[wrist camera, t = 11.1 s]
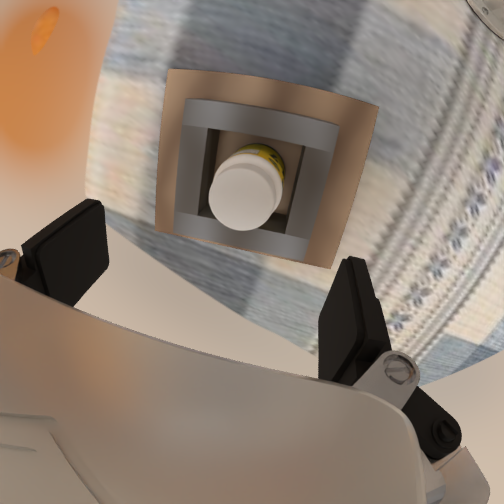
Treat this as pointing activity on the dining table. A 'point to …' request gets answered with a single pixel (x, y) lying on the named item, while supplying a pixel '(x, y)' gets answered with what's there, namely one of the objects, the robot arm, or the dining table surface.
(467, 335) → the dining table surface
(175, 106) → the pocket board
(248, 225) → the supplement bottle
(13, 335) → the robot arm
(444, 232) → the dining table surface
